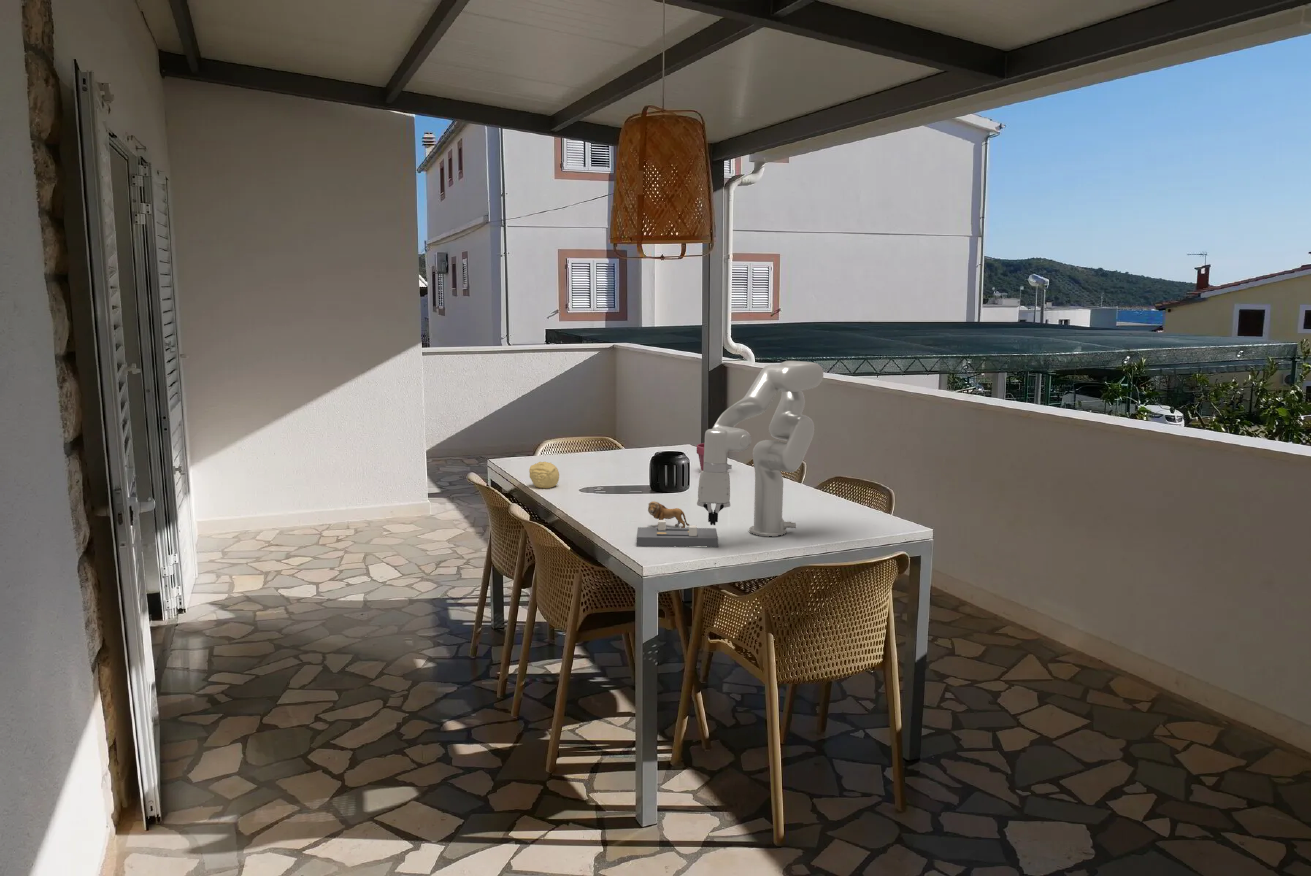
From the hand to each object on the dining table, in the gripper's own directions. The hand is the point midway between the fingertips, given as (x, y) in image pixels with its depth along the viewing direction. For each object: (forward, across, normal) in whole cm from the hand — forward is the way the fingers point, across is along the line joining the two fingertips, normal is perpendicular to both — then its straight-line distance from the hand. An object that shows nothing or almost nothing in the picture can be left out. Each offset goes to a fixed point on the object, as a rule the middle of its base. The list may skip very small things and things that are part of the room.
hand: (712, 524), depth 304 cm
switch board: (+7, +11, -4) cm, 14 cm away
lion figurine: (+7, +14, -24) cm, 29 cm away
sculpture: (+7, +65, -90) cm, 111 cm away
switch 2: (+5, +6, -1) cm, 8 cm away
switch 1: (+5, +16, -8) cm, 19 cm away
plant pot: (+4, -6, -125) cm, 125 cm away
